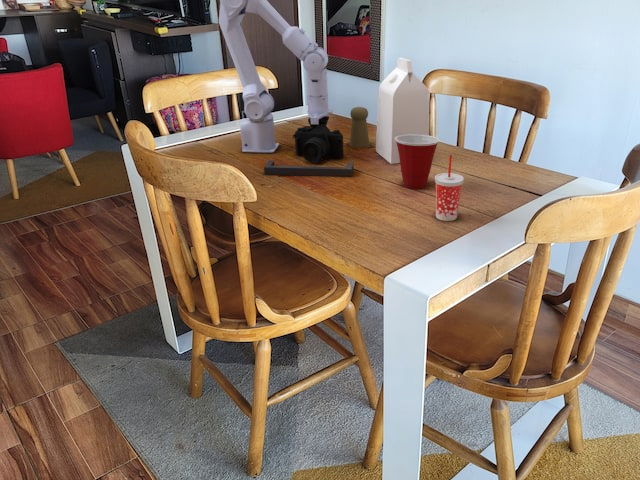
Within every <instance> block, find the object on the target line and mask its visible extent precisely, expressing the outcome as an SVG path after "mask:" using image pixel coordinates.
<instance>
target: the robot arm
mask: <svg viewBox="0 0 640 480" xmlns="http://www.w3.org/2000/svg"><path fill="white" fill-rule="evenodd" d="M219 3H220V4H219V14H218V25H219V27H220V30H221V33H222V35H223V37H224V40H225V43H226V47H227V48H228V51H229V54H230V56H231V59H232V62H233V65H234V67H235V71H236V73H237V75H238V77H239V80H240V83H241V86H242V100H243V103H244V106H243V110H244V111H243V112H244V114H245V116H246V118H242V119H241V120H240V123H239V124H240V126H239V130H240V131H239V132H240V140H241V147H242V148H241V149H242V150H241V152H242V153H262V154H263V153H269V154H273V153H275V152H276V150H277V149H278V147H279V146H280V143H279V142H276V135H275V134H276V133H275V123H274V115H273V113H272V111H273V110H274V109H275V108H274V107H275V100H274V98H273V96H272V95H271V94H270V93H269V91H268V89H267V87H266V86H265V84H264V83H263V82H262V81H261V78H260V76H259V73H258V69H257V68H256V64H255V61H254V59H253V56H252V53H251V50H250V48H249V45H248V42H247V39H246V35H245V34H244V31H243V28H242V25H241V23H242V21H243V19H244V17H245V15H246V13H250V14H256V15H258V16H260V17H261V18H262V19H263V20H264V21H265V22H266V23H268V25H269V26H271V27H272V28H273V29H274V30H275V31H276V32H277V33H279V34H280V35H281V38H282V44H283V45H284V46H285V47H286V48H287V49H288V50H289V51H290V52H291V53H292V54H293V55H294V56H296V57H297V58H298V59H299V61H301V62H302V66H303V68H304V70H305V71H306V73H305V74H306V96H307V115H308V118H307V123H308V124H309V126H314V128H315V127H316V126H317V124H319V123H320V124H322V125H324V124H326V126H327V125H328V122H329V119H330V116H329V115H332V114H333V110H332V109H329V91H328V89H329V87H328V76H327V74H328V73H327V72H328V71H327V65H328V63H329V56H328V53H327V52H326V50H325V48H323V47H321V46H319V44H318V43H317V42H313V41H312V40H311V39H310V38H309V36H307V35H306V34H305V33H306V30H305V29H304V28H303V27H301V28H300V27H299V26H291V25H290V24H289V23H288V21H286V19H285V18H284V17H283V16H282V15H281V14H280V13H279V12H278V11H277V10H276V8H274V6H273V5H272V4H270V2H269V1H268V0H219Z"/></svg>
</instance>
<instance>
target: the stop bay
mask: <svg viewBox="0 0 640 480" xmlns="http://www.w3.org/2000/svg"><path fill="white" fill-rule="evenodd" d="M354 164H355V163H354V161H353V162H351V161H348V162H347V164H346V166H306V165H304V166H303V165H301V166H300V165H275V160H271V159H270V160H268V161H267V162H266V163H265V165H264V167H263V170H264V171H263V172H264V175H272V176H273V175H274V176H279V175H280V176H310V177H311V176H315V177H352V176H353V173H354V169H355V165H354Z"/></svg>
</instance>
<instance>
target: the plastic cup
mask: <svg viewBox="0 0 640 480" xmlns="http://www.w3.org/2000/svg"><path fill="white" fill-rule="evenodd" d="M395 141H396V143H397V147H398V152H399V159H400V163H399V166H400V173H401V178H402V183H403V186H404V187H406V188H407V189H414V190H418V189H419V190H420V189H424V188H425V187H427V185H428V181H429V177H430V173H431V170H432V165H433V162H434V156H435V153H436V149H437V146H438V144H439V143H440V138H438V137H437V136H432V135H430V134H429V135H419V134H407V135H399V136H397V137H395Z"/></svg>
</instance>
